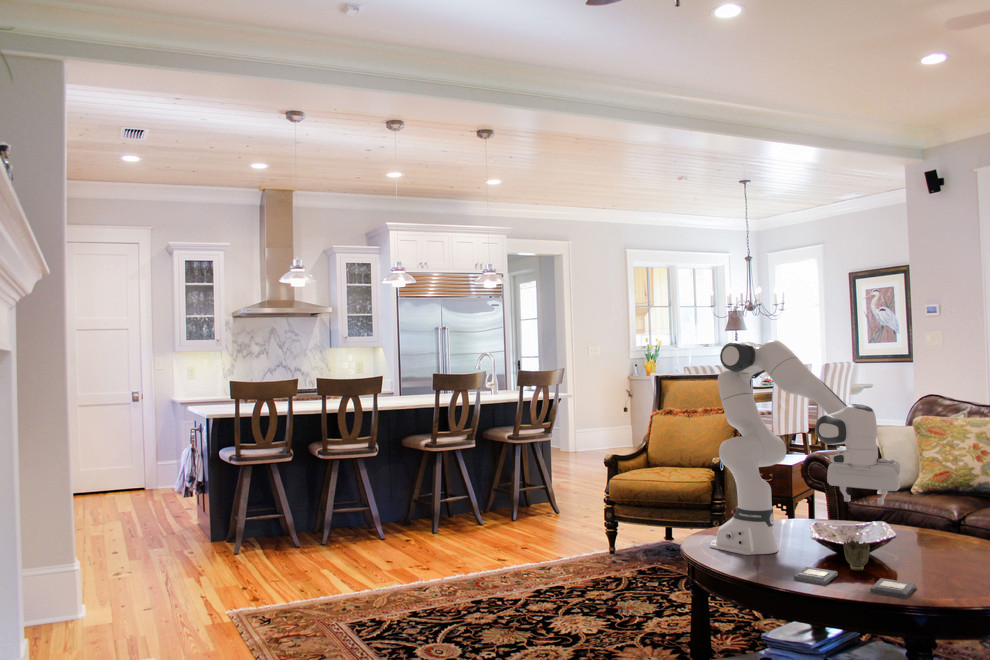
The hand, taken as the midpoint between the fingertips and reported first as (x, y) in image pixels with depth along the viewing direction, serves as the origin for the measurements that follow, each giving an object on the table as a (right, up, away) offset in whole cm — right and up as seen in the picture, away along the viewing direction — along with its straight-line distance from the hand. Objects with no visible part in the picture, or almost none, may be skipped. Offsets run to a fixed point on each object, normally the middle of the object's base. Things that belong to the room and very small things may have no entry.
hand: (863, 502), depth 232 cm
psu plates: (-9, -21, -12) cm, 26 cm away
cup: (-1, -21, +1) cm, 21 cm away
